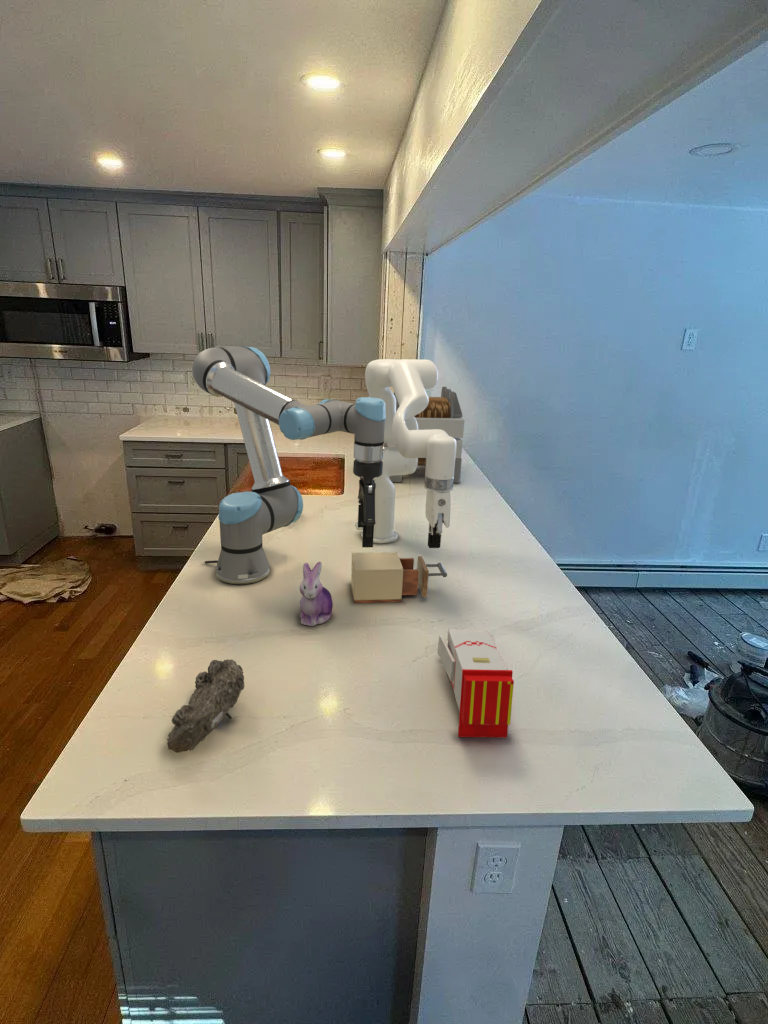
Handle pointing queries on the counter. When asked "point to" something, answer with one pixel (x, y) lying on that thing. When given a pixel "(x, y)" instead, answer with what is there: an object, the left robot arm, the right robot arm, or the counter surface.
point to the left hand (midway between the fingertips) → (364, 536)
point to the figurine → (314, 598)
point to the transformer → (440, 425)
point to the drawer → (417, 575)
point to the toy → (478, 682)
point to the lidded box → (376, 577)
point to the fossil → (206, 705)
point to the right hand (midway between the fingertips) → (433, 546)
